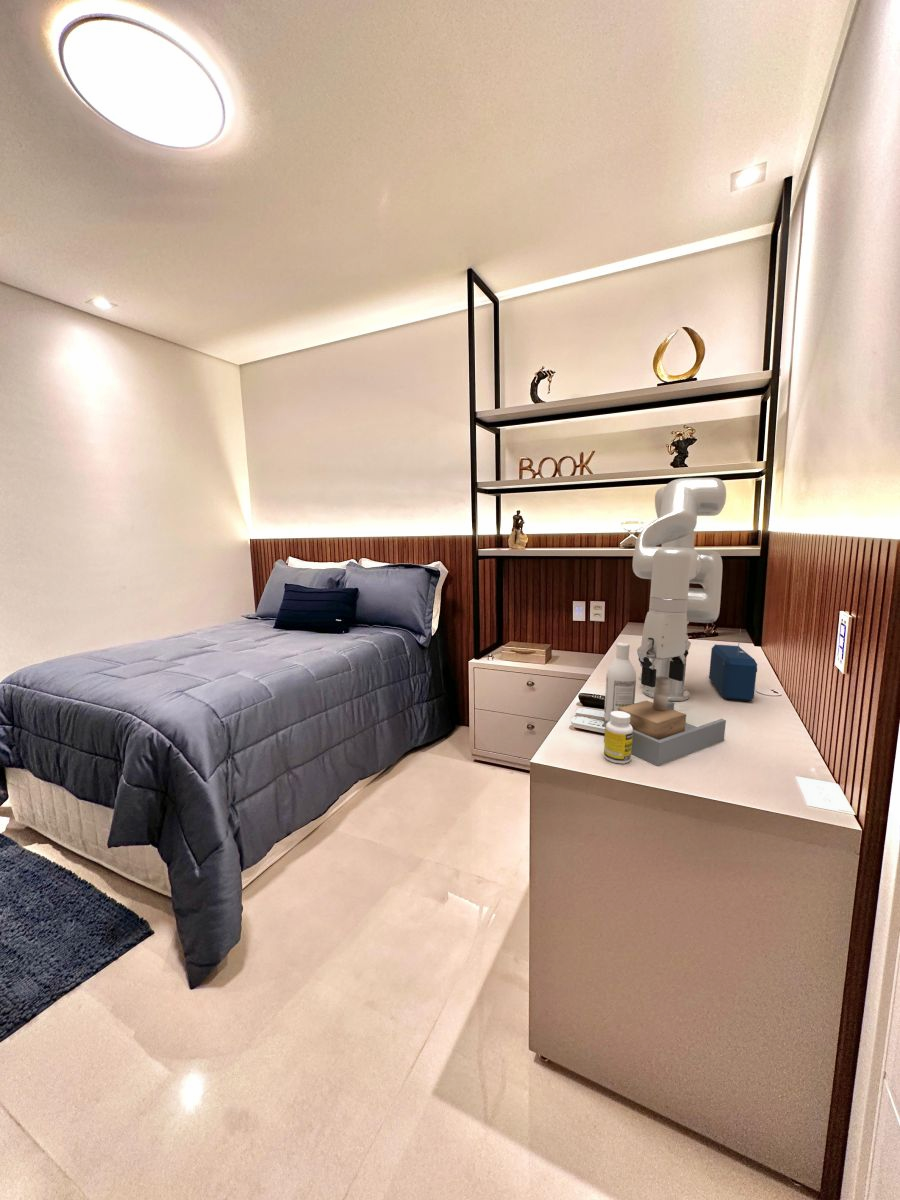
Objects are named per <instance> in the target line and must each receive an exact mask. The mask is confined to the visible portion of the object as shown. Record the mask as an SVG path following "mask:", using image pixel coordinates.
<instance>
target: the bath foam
mask: <svg viewBox="0 0 900 1200" xmlns="http://www.w3.org/2000/svg"><path fill="white" fill-rule="evenodd" d="M630 646H631V645H630V644H629V643H628V642H618V643H616V655H615V658H614V660H613V661H612V662H611V663H610V665H609V666H608V668H607V671H606V677H605V693H604V695H605V696H604V709H603V711H604V713H603V719H604V718H605V719H606V720H608V719H610V713H611V712H613V711H618V708H620V707H624V706H628V705H631V704H635V703H636V702H635V701H636V700H635V699H636V688H637V687H636V686H637V684H636V683H637V673H636V670H635V668H634V666H633V663H632V662H631V661H630Z"/></svg>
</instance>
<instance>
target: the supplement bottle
mask: <svg viewBox="0 0 900 1200" xmlns="http://www.w3.org/2000/svg"><path fill="white" fill-rule="evenodd" d="M610 720H611V721H609V722H608V723H607V724H606V731H605V730H604V737H605V741H604V744H603V745H604V748H603V757H604V758H605V760H607V761H608V762H610V763H615V764H627V763H629V762H630V761H631V760H632V759H631V758H632V754H631V748H632V735H633V728H632V726H631V725H630V724H629V723H630V714H628V713H626V712H622V711H613V712H611V713H610Z"/></svg>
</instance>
